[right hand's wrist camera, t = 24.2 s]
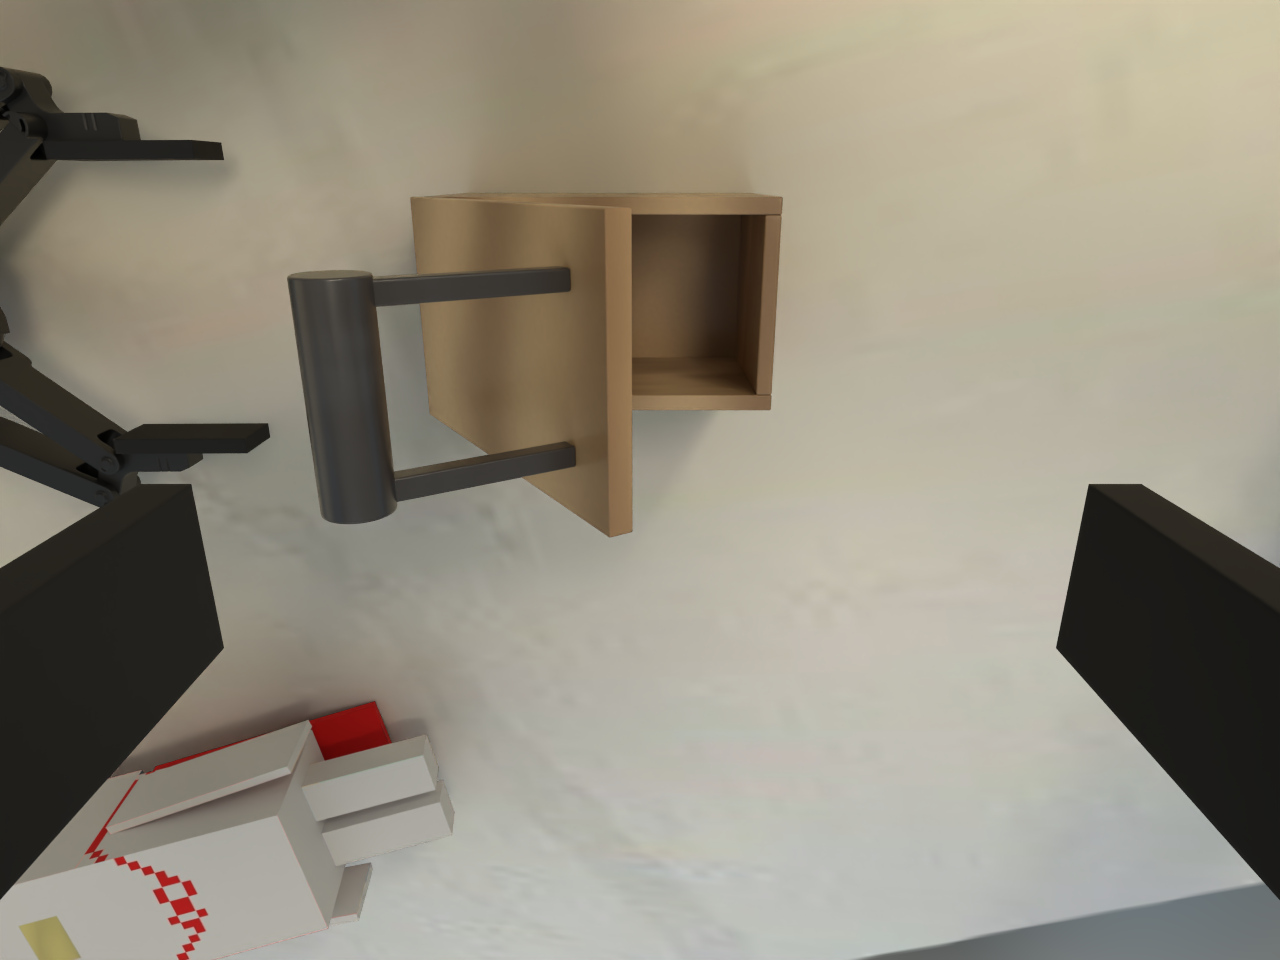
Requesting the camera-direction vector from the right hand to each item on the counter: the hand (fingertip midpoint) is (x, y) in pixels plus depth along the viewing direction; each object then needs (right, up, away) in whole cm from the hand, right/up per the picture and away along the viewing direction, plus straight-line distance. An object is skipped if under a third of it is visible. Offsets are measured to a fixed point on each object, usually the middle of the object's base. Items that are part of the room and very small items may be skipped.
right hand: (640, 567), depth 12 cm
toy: (-28, -20, +45) cm, 56 cm away
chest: (-2, +12, +34) cm, 36 cm away
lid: (-5, +6, +18) cm, 20 cm away
